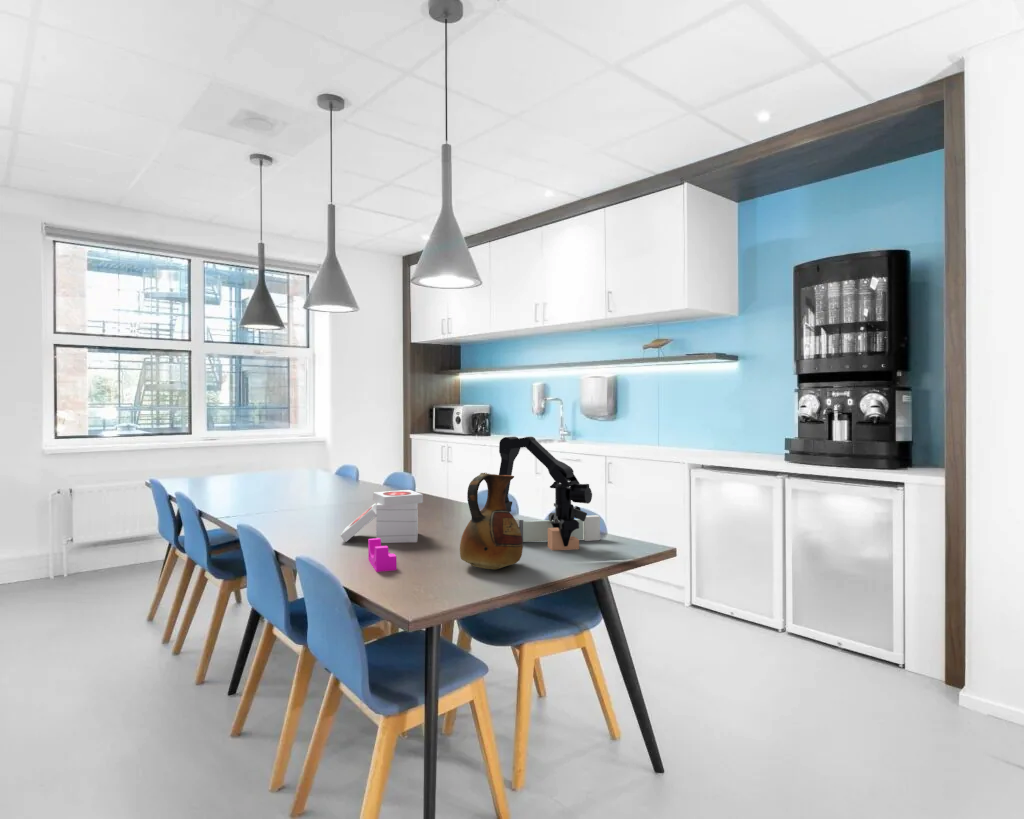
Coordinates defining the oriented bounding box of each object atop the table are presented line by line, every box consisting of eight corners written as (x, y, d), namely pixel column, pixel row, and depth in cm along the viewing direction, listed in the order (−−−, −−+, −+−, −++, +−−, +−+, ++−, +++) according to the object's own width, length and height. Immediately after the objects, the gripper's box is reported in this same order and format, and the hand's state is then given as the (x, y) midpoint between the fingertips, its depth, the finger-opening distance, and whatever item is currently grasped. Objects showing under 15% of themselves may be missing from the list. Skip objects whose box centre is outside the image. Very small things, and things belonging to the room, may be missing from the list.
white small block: (514, 544, 228) (514, 519, 228) (513, 542, 231) (513, 518, 231) (600, 540, 235) (600, 516, 235) (597, 538, 238) (597, 515, 238)
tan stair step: (552, 550, 218) (552, 531, 218) (547, 547, 224) (547, 527, 224) (579, 549, 220) (579, 530, 220) (574, 545, 226) (574, 526, 226)
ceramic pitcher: (535, 566, 196) (535, 472, 196) (488, 578, 182) (488, 477, 182) (493, 555, 210) (493, 468, 210) (447, 566, 196) (447, 472, 196)
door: (520, 542, 228) (520, 521, 228) (518, 541, 231) (518, 520, 231) (584, 539, 233) (584, 518, 233) (581, 538, 236) (581, 517, 236)
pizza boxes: (346, 536, 242) (345, 490, 242) (423, 534, 246) (423, 489, 246) (339, 547, 223) (338, 498, 223) (422, 545, 227) (422, 496, 227)
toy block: (396, 570, 192) (396, 546, 192) (376, 572, 190) (376, 548, 190) (387, 559, 206) (387, 537, 206) (368, 561, 204) (368, 538, 203)
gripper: (593, 504, 215) (593, 549, 215) (576, 496, 233) (576, 538, 233) (562, 505, 212) (562, 550, 212) (548, 497, 231) (548, 539, 231)
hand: (563, 544), depth 222 cm, fingers open, 6 cm apart
